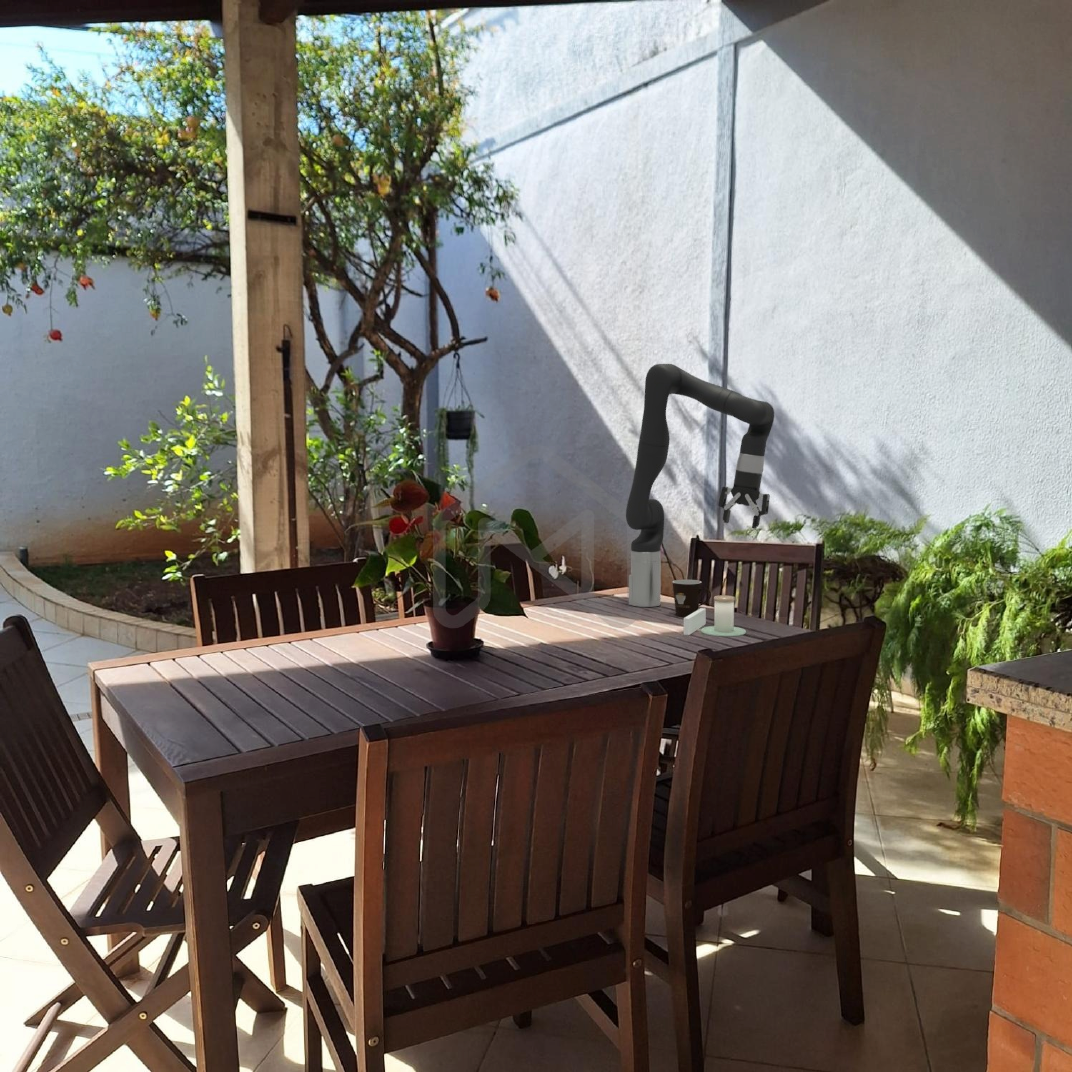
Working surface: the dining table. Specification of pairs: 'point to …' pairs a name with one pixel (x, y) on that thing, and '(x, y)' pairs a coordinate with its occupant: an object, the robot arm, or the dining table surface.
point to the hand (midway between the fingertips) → (740, 525)
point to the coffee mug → (687, 596)
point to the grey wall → (694, 621)
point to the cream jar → (724, 613)
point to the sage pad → (711, 631)
